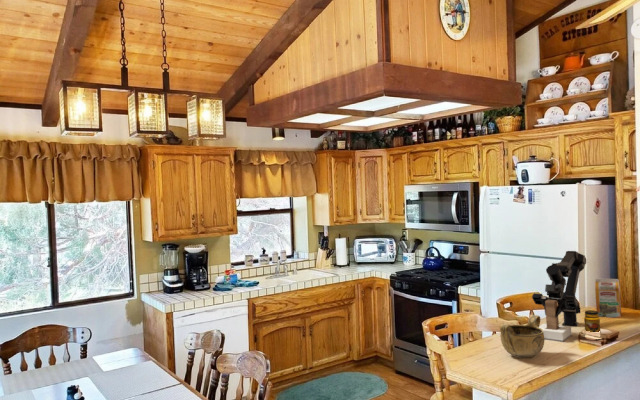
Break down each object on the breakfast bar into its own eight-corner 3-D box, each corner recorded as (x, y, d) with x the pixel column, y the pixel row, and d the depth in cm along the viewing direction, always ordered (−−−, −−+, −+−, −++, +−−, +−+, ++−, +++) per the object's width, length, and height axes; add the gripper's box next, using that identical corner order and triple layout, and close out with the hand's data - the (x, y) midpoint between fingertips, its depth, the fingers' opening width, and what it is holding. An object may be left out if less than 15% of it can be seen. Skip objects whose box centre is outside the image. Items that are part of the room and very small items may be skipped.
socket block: (544, 332, 240) (543, 323, 240) (571, 335, 232) (570, 326, 232) (535, 338, 231) (534, 329, 231) (563, 341, 223) (562, 332, 223)
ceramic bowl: (522, 346, 221) (520, 311, 221) (558, 354, 207) (556, 317, 207) (488, 357, 209) (486, 320, 209) (524, 367, 195) (522, 328, 195)
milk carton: (621, 313, 265) (619, 277, 265) (620, 318, 256) (618, 280, 256) (598, 312, 271) (596, 276, 271) (596, 317, 262) (594, 280, 262)
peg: (550, 329, 235) (548, 299, 235) (559, 330, 232) (557, 300, 232) (547, 331, 232) (545, 301, 232) (556, 332, 229) (554, 302, 229)
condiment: (593, 341, 222) (591, 313, 222) (577, 336, 230) (576, 310, 230) (606, 338, 224) (604, 311, 224) (590, 334, 232) (589, 308, 232)
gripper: (532, 276, 241) (524, 304, 233) (574, 278, 228) (568, 307, 220) (539, 289, 247) (532, 317, 239) (580, 292, 234) (574, 322, 226)
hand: (551, 315), depth 231 cm, fingers closed on peg, 4 cm apart
